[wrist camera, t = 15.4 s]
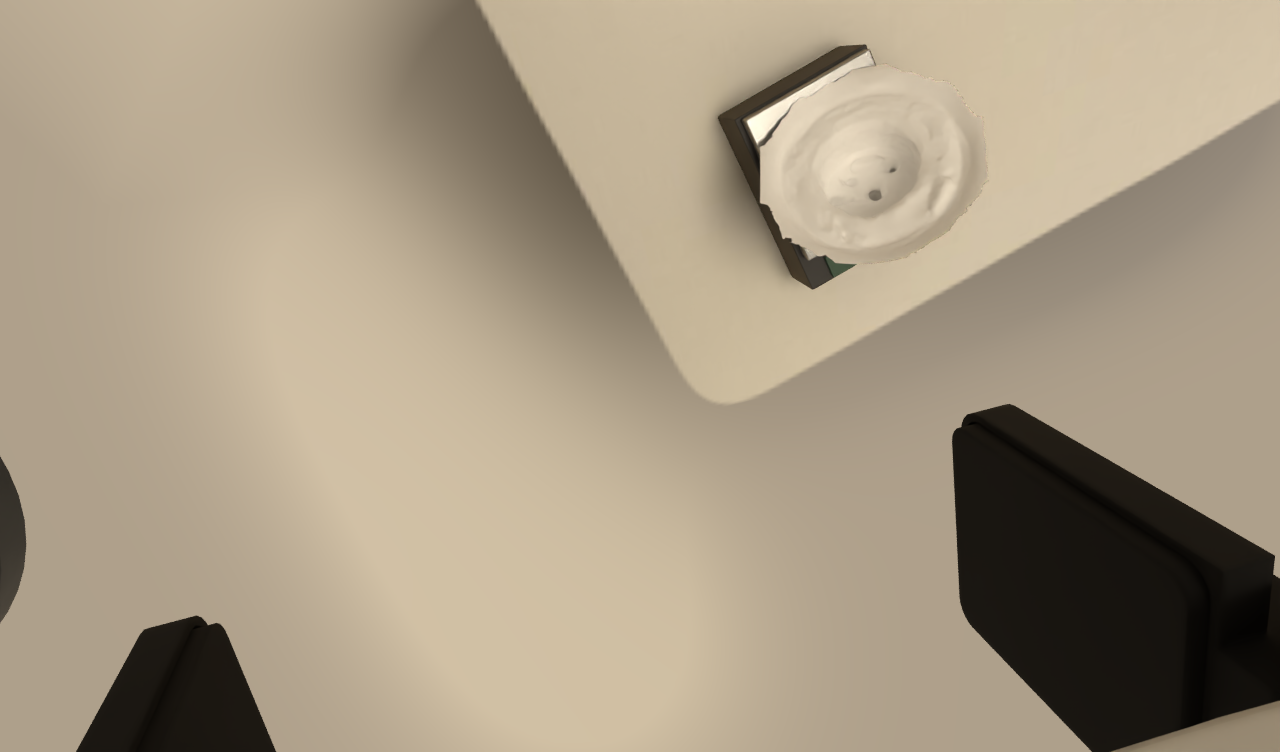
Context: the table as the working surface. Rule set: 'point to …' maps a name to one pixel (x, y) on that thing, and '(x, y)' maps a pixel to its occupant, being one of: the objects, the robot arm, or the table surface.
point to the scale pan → (772, 114)
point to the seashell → (873, 165)
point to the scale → (731, 122)
